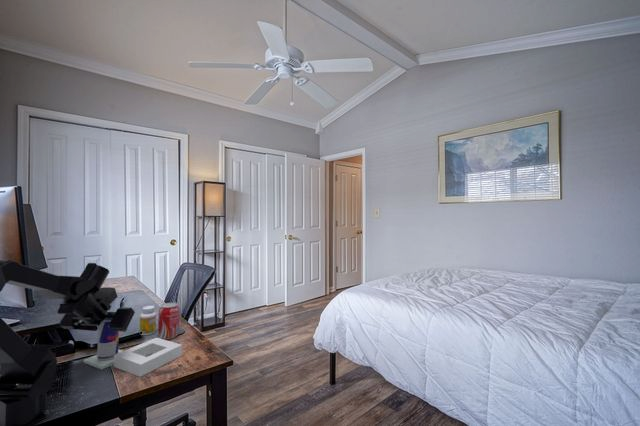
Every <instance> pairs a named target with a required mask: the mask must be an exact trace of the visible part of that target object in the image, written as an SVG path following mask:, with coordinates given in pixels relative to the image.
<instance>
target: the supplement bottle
mask: <svg viewBox="0 0 640 426" xmlns="http://www.w3.org/2000/svg"><path fill="white" fill-rule="evenodd" d="M141 311H142V312H141V313H140V316H139V332H140V331H141V332H142V334H140V335H141V336H149V335H153V334H154V333H155V332H156V331H157V312H155V305H146V306H143V307H142V310H141Z"/></svg>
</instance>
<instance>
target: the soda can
mask: <svg viewBox="0 0 640 426" xmlns="http://www.w3.org/2000/svg"><path fill="white" fill-rule="evenodd" d="M157 315H158V317H157V338H160V339H163V340H167V341H169V340H172V339H174V338H175V337H177V336H178V335H179V332H180V331H179V330H180V307H179V303H178V302H172V301H171V302H165V303H163V304H160V307H159V310H158V314H157Z"/></svg>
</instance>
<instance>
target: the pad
mask: <svg viewBox="0 0 640 426" xmlns="http://www.w3.org/2000/svg"><path fill="white" fill-rule="evenodd" d="M123 351H124V350H122V349H120V348H119V349H118V353H120V352H123ZM83 364H87V365H89V366H91V367H94V368H95V369H96V368H97V369H99V370H104V369H106V368H108V367H110V366H114V358H113V359H110V360H106V361H100V360H98V359H97V354H95V355H93V356H90V357H87V358H84V359H83Z"/></svg>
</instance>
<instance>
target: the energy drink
mask: <svg viewBox="0 0 640 426" xmlns="http://www.w3.org/2000/svg"><path fill="white" fill-rule="evenodd" d="M110 322H111V321H109V320H104V321H102V322H101V323H100V325H99V326H97V327H98V329H97V354H96V355H97V359H98V360H100V361H106V360H110V359H113V358H114V355H116V354H118V349H119V350H120V348H119V347H120V345H119V344H120V343H119V342H120V340H119V338H120V331H113V329H111V328H110Z"/></svg>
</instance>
